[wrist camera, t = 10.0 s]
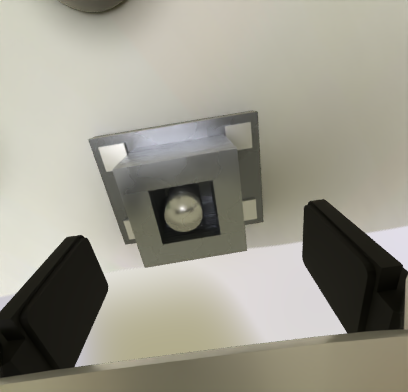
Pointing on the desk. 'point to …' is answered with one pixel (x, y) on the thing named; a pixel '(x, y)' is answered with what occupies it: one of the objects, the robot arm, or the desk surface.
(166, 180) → the block
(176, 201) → the stand
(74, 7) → the supplement bottle
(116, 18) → the desk surface
